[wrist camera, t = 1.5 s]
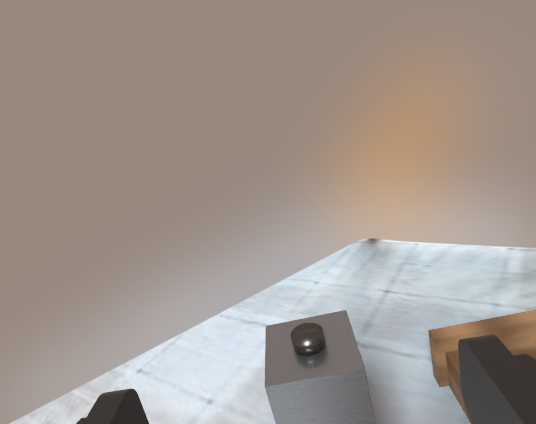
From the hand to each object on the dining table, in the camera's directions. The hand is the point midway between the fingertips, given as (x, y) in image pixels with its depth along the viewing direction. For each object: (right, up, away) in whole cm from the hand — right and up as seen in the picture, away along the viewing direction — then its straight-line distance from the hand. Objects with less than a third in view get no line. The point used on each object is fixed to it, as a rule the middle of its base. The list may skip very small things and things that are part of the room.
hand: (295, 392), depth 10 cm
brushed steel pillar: (+5, -16, +16) cm, 23 cm away
